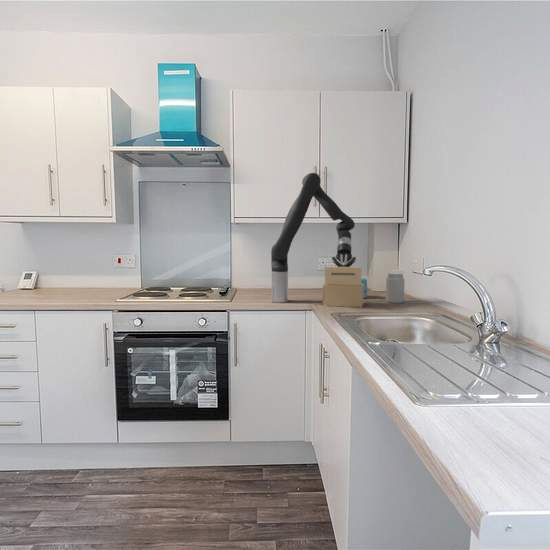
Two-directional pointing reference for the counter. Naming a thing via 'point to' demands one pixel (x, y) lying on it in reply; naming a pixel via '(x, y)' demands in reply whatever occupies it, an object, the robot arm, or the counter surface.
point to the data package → (364, 281)
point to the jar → (395, 286)
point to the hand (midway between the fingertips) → (343, 272)
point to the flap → (343, 275)
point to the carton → (343, 295)
